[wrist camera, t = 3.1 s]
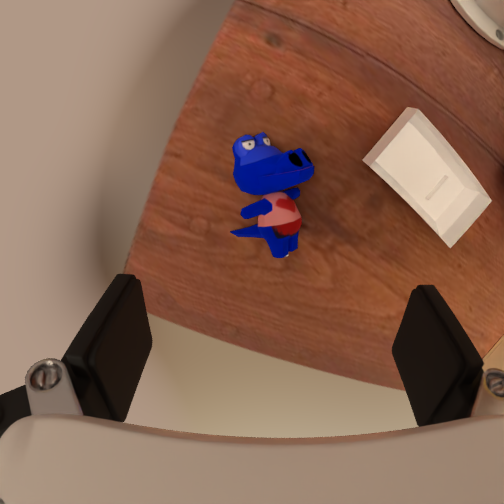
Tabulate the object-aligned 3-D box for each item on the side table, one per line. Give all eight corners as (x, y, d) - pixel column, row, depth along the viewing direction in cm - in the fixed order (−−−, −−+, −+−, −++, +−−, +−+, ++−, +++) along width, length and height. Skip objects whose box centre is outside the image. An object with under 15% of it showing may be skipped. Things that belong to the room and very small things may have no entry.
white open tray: (491, 200, 18) (474, 188, 20) (418, 109, 16) (402, 105, 18) (450, 248, 20) (435, 232, 22) (369, 166, 18) (358, 157, 20)
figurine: (238, 149, 16) (229, 128, 19) (237, 271, 20) (229, 231, 24) (327, 150, 16) (301, 129, 20) (310, 265, 21) (291, 228, 24)
